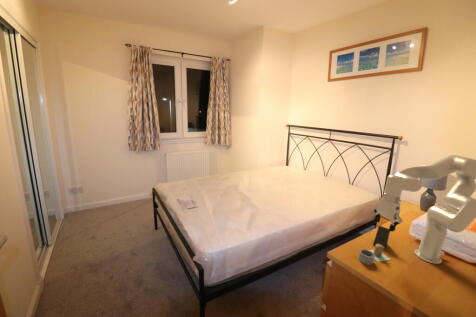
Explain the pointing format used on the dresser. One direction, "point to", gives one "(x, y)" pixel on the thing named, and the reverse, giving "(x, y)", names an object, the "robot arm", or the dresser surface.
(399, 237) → the dresser surface
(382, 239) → the phone stand
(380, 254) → the lid
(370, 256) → the cup
